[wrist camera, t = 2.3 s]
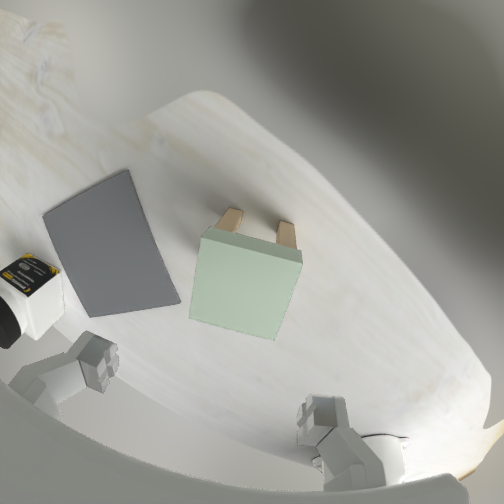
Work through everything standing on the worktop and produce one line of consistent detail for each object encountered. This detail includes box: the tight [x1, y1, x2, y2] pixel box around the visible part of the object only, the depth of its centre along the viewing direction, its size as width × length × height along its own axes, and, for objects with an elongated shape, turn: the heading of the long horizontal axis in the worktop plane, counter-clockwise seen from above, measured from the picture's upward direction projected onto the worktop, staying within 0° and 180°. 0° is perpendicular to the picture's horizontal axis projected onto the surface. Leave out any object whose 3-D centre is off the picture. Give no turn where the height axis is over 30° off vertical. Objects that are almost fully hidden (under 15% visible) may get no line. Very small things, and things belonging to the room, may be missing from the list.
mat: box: [42, 170, 181, 318], centre depth 26 cm, size 14×14×1 cm
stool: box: [189, 208, 303, 341], centre depth 21 cm, size 6×6×8 cm
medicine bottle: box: [0, 253, 65, 349], centre depth 24 cm, size 7×7×12 cm
